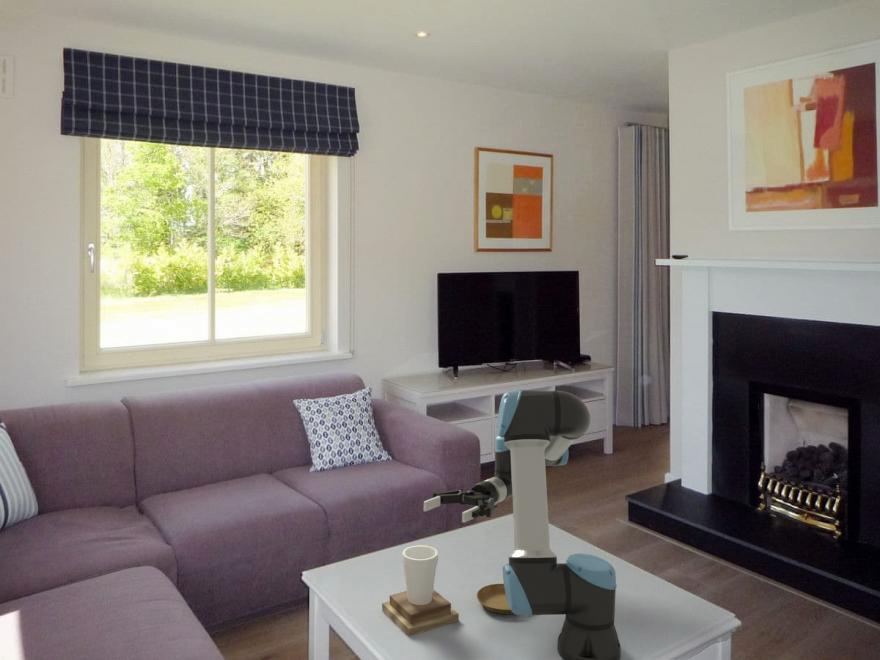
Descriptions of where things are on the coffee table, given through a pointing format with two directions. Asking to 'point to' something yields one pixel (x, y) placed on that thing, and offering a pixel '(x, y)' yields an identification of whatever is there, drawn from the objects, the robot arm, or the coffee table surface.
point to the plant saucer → (494, 598)
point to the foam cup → (420, 573)
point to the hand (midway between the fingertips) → (443, 512)
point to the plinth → (421, 624)
